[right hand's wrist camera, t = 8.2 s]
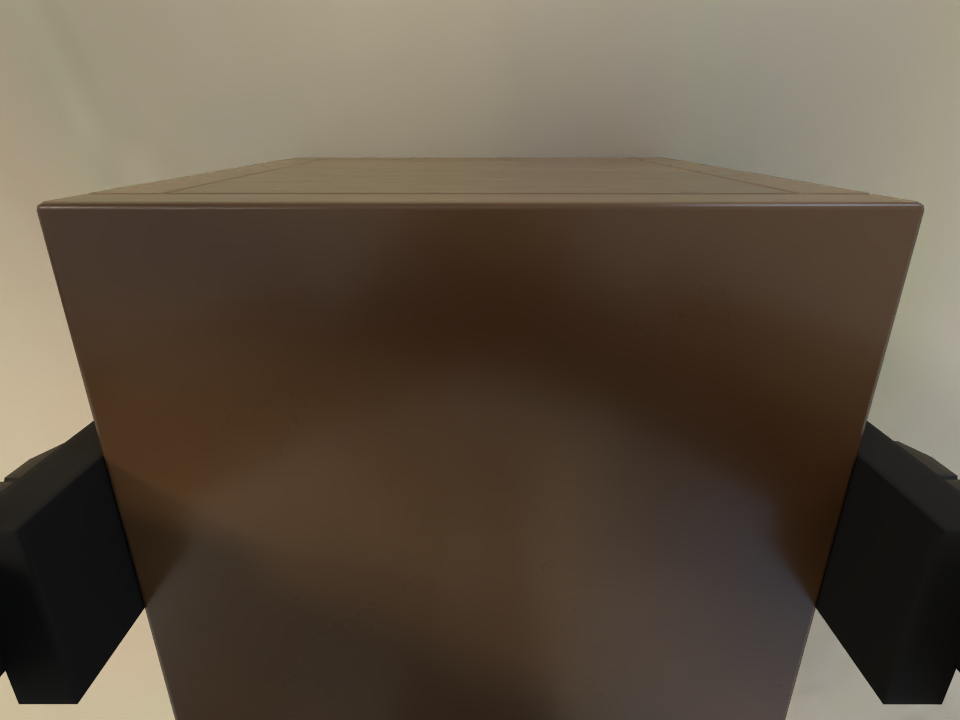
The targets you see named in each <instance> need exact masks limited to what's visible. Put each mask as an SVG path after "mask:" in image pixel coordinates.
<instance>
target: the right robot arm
mask: <svg viewBox="0 0 960 720" xmlns="http://www.w3.org/2000/svg"><path fill="white" fill-rule="evenodd" d="M144 608H145V606H144V602H143V599H142V595H141V591H140V588H139V584H138V580H137V577H136V573H135V569H134V566H133V562H132V558H131V555H130V551H129V547H128V544H127V540H126V536H125V533H124V529H123V525H122V522H121V518H120V514H119V511H118V507H117V503H116V499H115V496H114V492H113V488H112V485H111V481H110V477H109V474H108V470H107V466H106V463H105V459H104V455H103V452H102V448H101V444H100V441H99V437H98V433H97V430H96V426H95V422H94V421H93V422H92V423H90V424H89V425H88V426H86V427H85V428H84V429H82V430H81V431H80V432H78V433H77V434H76V435H74V436H73V437H72V438H70V439H69V440H68V441H67V442H65V443H63V444H61V445H59V446H57V447H55V448H53V449H51V450H48V451H46V452H44V453H42V454H40V455H38V456H36V457H34V458H31V459H30V460H28V461H27V462H25V463H24V464H23V465H21V466H20V467H19V468H17V469H16V470H15V471H13V472H12V473H11V474H9V475H8V476H7V477H5V478H4V482H0V676H1V675H2V674H3V673H4V672H5V671H6V673H7V676H8V678H9V680H10V683H11V685H12V688H13V690H14V693H15V695H16V698H17V700H18V703H19V704H78V703H79V701H80V700H81V698H82V697H83V695H84V694H85V693H86V691H87V690H88V688H89V687H90V685H91V684H92V683H93V681H94V680H95V678H96V677H97V675H98V674H99V672H100V671H101V670H102V668H103V667H104V665H105V664H106V662H107V661H108V660H109V658H110V657H111V655H112V654H113V652H114V651H115V650H116V648H117V647H118V645H119V644H120V642H121V641H122V639H123V638H124V637H125V635H126V634H127V632H128V631H129V629H130V628H131V627H132V625H133V624H134V622H135V621H136V619H137V618H138V617H139V615H140V614H141V612H142V611H143V609H144ZM816 608H817V610H818V611H819V613H820V614H821V616H822V617H823V618H824V620H825V621H826V623H827V624H828V626H829V627H830V629H831V630H832V631H833V633H834V634H835V636H836V637H837V639H838V640H839V641H840V643H841V644H842V646H843V647H844V649H845V650H846V651H847V653H848V654H849V656H850V657H851V659H852V660H853V661H854V663H855V664H856V666H857V667H858V669H859V670H860V672H861V673H862V674H863V676H864V677H865V679H866V680H867V682H868V683H869V684H870V686H871V687H872V689H873V690H874V692H875V693H876V694H877V696H878V697H879V699H880V700H881V702H882V703H883V704H942V703H943V700H944V698H945V695H946V693H947V690H948V688H949V685H950V683H951V680H952V678H953V675H954V673H955V670H956V669H957V670H958V671H959V672H960V480H958V479H957V475H955V474H954V473H953V472H951V471H950V470H949V469H947V468H946V467H944V466H943V465H942V464H940V463H939V462H938V461H936V460H935V459H934V458H932V457H930V456H928V455H926V454H924V453H922V452H920V451H917V450H915V449H913V448H911V447H909V446H907V445H905V444H903V443H900V442H898V441H893V440H892V439H890V438H889V437H888V436H886V435H885V434H884V433H882V432H881V431H880V430H878V429H877V428H876V427H874V426H873V425H872V424H870V423H869V422H868V421H866V425H865V429H864V432H863V436H862V440H861V443H860V447H859V451H858V454H857V458H856V462H855V465H854V469H853V473H852V476H851V480H850V484H849V487H848V491H847V495H846V498H845V502H844V506H843V509H842V513H841V517H840V520H839V524H838V528H837V531H836V535H835V539H834V542H833V546H832V550H831V553H830V557H829V561H828V564H827V568H826V572H825V575H824V579H823V583H822V586H821V590H820V593H819V597H818V601H817V604H816Z"/></svg>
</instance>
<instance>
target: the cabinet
mask: <svg viewBox="0 0 960 720" xmlns="http://www.w3.org/2000/svg"><path fill="white" fill-rule="evenodd" d="M37 213H38V217H39V220H40V224H41V228H42V231H43V235H44V239H45V242H46V246H47V250H48V253H49V257H50V261H51V264H52V268H53V272H54V275H55V279H56V283H57V286H58V290H59V294H60V297H61V301H62V305H63V308H64V312H65V316H66V319H67V323H68V327H69V330H70V334H71V338H72V341H73V345H74V349H75V353H76V356H77V360H78V364H79V367H80V371H81V375H82V378H83V382H84V386H85V389H86V393H87V397H88V400H89V404H90V408H91V411H92V415H93V419H94V422H95V426H96V430H97V433H98V437H99V441H100V444H101V448H102V452H103V455H104V459H105V463H106V466H107V470H108V474H109V477H110V481H111V485H112V488H113V492H114V496H115V499H116V503H117V507H118V511H119V514H120V518H121V522H122V525H123V529H124V533H125V536H126V540H127V544H128V547H129V551H130V555H131V558H132V562H133V566H134V569H135V573H136V577H137V580H138V584H139V588H140V591H141V595H142V599H143V602H144V606H145V610H146V613H147V617H148V621H149V624H150V628H151V632H152V635H153V639H154V643H155V646H156V650H157V654H158V657H159V661H160V665H161V668H162V672H163V676H164V680H165V683H166V687H167V691H168V694H169V698H170V702H171V705H172V709H173V713H174V716H175V720H785V718H786V714H787V711H788V707H789V703H790V700H791V696H792V692H793V689H794V685H795V681H796V678H797V674H798V670H799V667H800V663H801V659H802V656H803V652H804V648H805V645H806V641H807V637H808V634H809V630H810V626H811V623H812V619H813V615H814V612H815V608H816V604H817V601H818V597H819V593H820V590H821V586H822V583H823V579H824V575H825V572H826V568H827V564H828V561H829V557H830V553H831V550H832V546H833V542H834V539H835V535H836V531H837V528H838V524H839V520H840V517H841V513H842V509H843V506H844V502H845V498H846V495H847V491H848V487H849V484H850V480H851V476H852V473H853V469H854V465H855V462H856V458H857V454H858V451H859V447H860V443H861V440H862V436H863V432H864V429H865V425H866V421H867V418H868V414H869V410H870V407H871V403H872V399H873V396H874V392H875V388H876V385H877V381H878V377H879V374H880V370H881V367H882V363H883V359H884V356H885V352H886V348H887V345H888V341H889V337H890V334H891V330H892V326H893V323H894V319H895V315H896V312H897V308H898V304H899V301H900V297H901V293H902V290H903V286H904V282H905V279H906V275H907V271H908V268H909V264H910V260H911V257H912V253H913V249H914V246H915V242H916V238H917V235H918V231H919V227H920V224H921V220H922V216H923V213H924V205H922V204H921V203H919V202H916V201H910V200H904V199H899V198H893V197H887V196H881V195H875V194H869V193H865V192H859V191H854V190H848V189H842V188H836V187H830V186H825V185H819V184H813V183H807V182H801V181H796V180H790V179H784V178H778V177H772V176H767V175H761V174H755V173H749V172H743V171H738V170H732V169H726V168H720V167H714V166H709V165H703V164H697V163H691V162H685V161H680V160H673V159H667V158H293V159H287V160H279V161H273V162H268V163H262V164H256V165H250V166H244V167H239V168H233V169H227V170H221V171H215V172H210V173H204V174H198V175H192V176H186V177H181V178H175V179H169V180H163V181H157V182H152V183H146V184H140V185H134V186H128V187H123V188H117V189H111V190H105V191H99V192H93V193H90V194H85V195H79V196H73V197H67V198H62V199H56V200H50V201H44V202H42V203H40V204H38V205H37Z"/></svg>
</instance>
